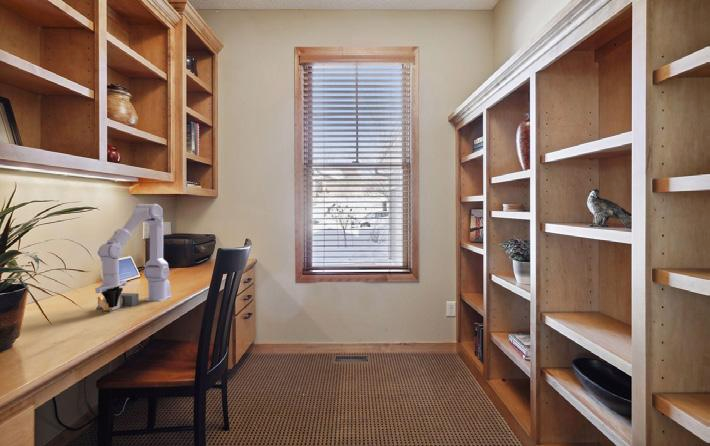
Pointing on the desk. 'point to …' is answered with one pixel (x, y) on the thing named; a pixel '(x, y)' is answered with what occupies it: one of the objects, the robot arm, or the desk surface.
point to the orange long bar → (102, 303)
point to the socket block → (127, 299)
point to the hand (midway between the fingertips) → (112, 306)
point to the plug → (117, 304)
